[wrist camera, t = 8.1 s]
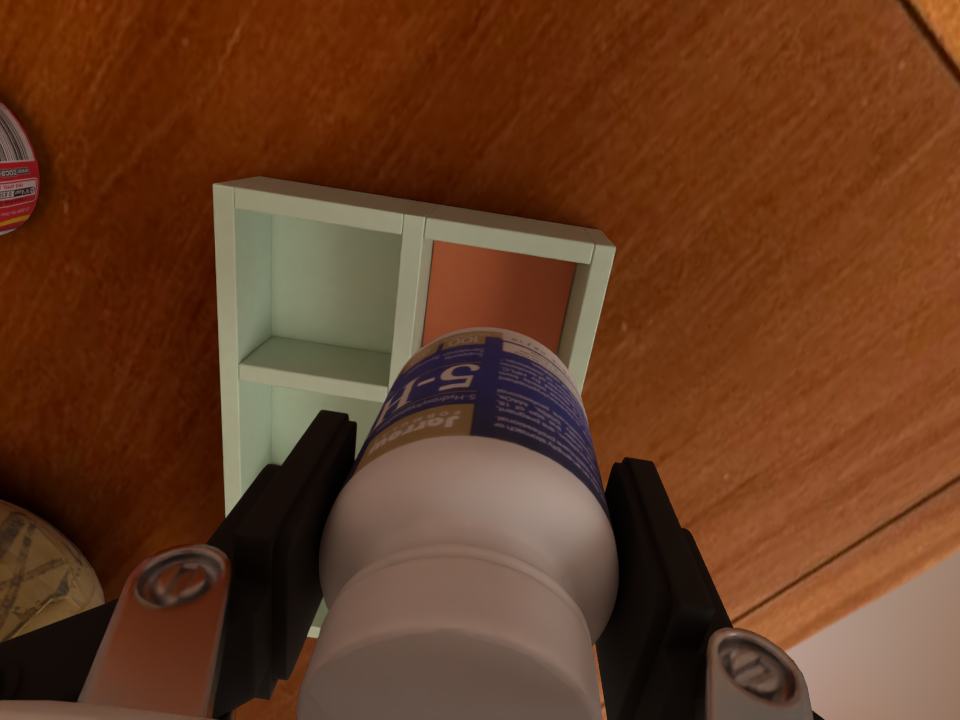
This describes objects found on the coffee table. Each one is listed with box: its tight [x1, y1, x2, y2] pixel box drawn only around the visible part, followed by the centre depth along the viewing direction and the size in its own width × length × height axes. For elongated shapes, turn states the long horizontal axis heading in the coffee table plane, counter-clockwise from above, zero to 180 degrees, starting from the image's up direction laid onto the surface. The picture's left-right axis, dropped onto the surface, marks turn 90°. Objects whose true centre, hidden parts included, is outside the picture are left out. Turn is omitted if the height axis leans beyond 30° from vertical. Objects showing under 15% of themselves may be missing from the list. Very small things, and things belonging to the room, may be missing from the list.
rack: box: [213, 176, 616, 638], centre depth 26 cm, size 15×22×4 cm
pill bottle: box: [297, 327, 619, 720], centre depth 11 cm, size 5×5×9 cm
